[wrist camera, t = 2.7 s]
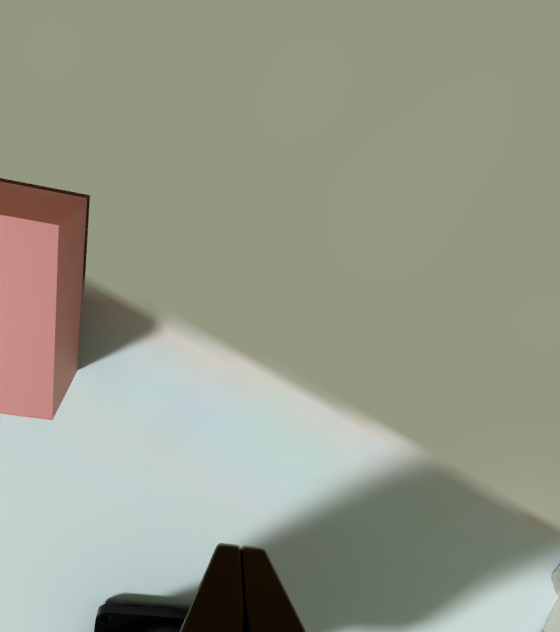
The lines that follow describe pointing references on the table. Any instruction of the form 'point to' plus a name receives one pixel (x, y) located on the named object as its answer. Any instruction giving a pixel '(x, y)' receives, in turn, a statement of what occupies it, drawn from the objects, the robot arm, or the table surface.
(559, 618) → the bracket
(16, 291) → the block
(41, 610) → the table surface
